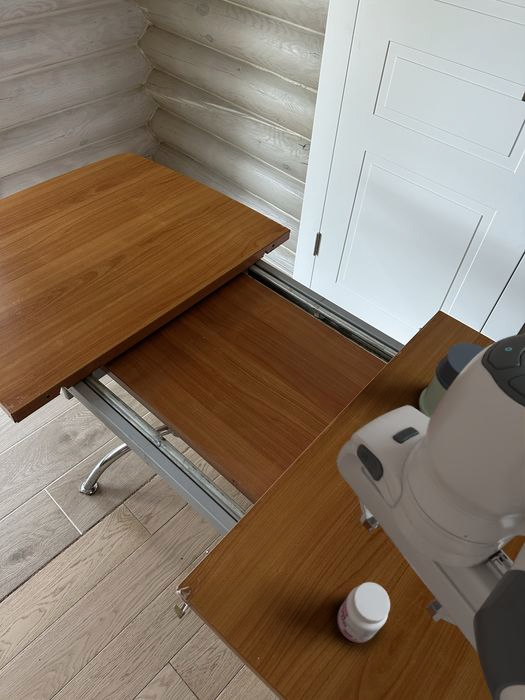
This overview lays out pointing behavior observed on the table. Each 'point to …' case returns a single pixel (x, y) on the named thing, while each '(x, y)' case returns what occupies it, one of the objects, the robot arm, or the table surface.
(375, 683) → the table surface
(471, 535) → the robot arm
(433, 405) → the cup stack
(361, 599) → the pill bottle
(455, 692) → the table surface
